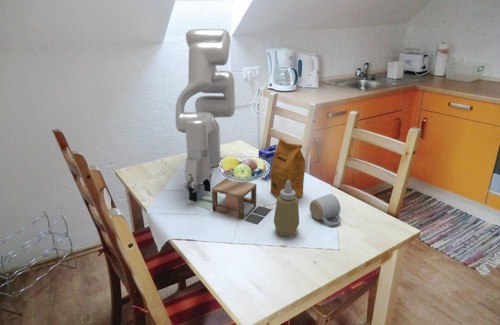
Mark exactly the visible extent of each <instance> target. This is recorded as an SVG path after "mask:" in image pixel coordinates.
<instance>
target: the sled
mask: <svg viewBox="0 0 500 325" xmlns="http://www.w3.org/2000/svg"><path fill="white" fill-rule="evenodd" d="M196 192H197V199H198V200H202V199H203V200H207V201H210V202H212V198H208V197H205V193H206V191H204V184H203V183H200V184H198V185H197V187H196ZM218 205H222V206H226V196H225V197H224V198H223V199H222V200H221V201H219V200H218ZM226 207H228V206H226ZM229 208H232V207H229ZM233 209H235V208H233ZM253 209H254V204H251V203H247V202H244V217H245V216H247V215H248V214H249V213H250V212H251V211H252V210H253ZM236 210H239V208H237V209H236Z"/></svg>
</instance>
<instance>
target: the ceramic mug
mask: <svg viewBox="0 0 500 325" xmlns="http://www.w3.org/2000/svg"><path fill="white" fill-rule="evenodd" d="M340 204H341V203H340V201H339V199H338V198H337V197H336V196H335V195H334V194H333V193H328V194H325V195H322V196H321V197H317V198H315V199H313V200H311V201H310V203H309V211H310V214H311V216H312V217H313V218H314V219H315V220H317V221H321V220H322V221H323V223H325V224H326V225H327V226H329V227H335V226H338V225H339V224H340V222H341V215H340V214H341V205H340ZM334 217H337V222H330V221H328V219H330V218H334Z"/></svg>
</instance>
